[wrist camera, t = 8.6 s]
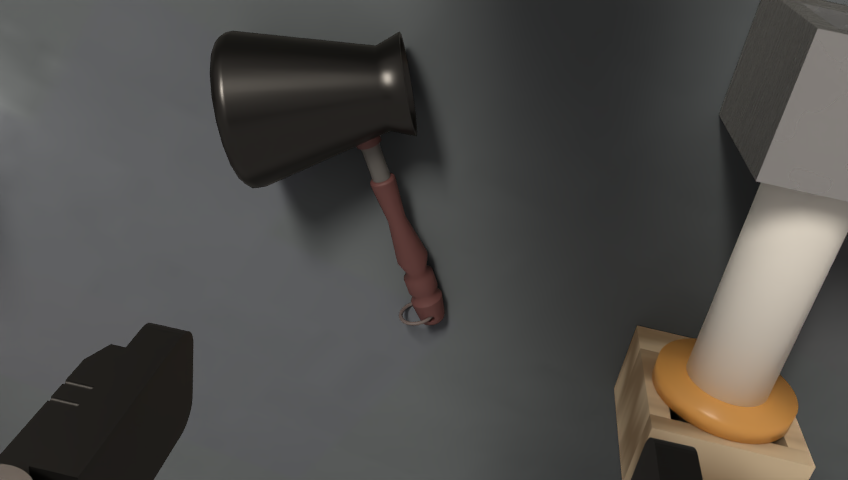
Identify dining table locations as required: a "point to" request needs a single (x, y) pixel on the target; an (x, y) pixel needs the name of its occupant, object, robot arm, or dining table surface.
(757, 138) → the grey block
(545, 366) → the dining table surface
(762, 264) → the tube
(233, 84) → the coffee pot
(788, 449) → the socket
